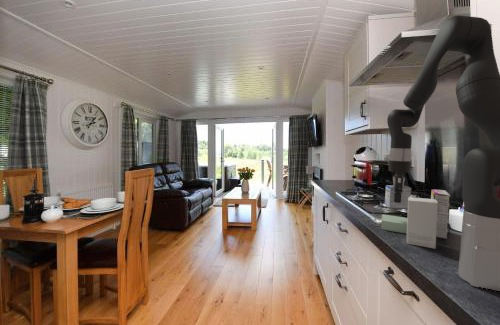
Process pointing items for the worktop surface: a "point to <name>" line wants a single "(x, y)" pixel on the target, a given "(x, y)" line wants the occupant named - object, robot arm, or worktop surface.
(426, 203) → the skincare box
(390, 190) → the medicine box
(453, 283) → the worktop surface
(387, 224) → the sage block
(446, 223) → the candy bar box
